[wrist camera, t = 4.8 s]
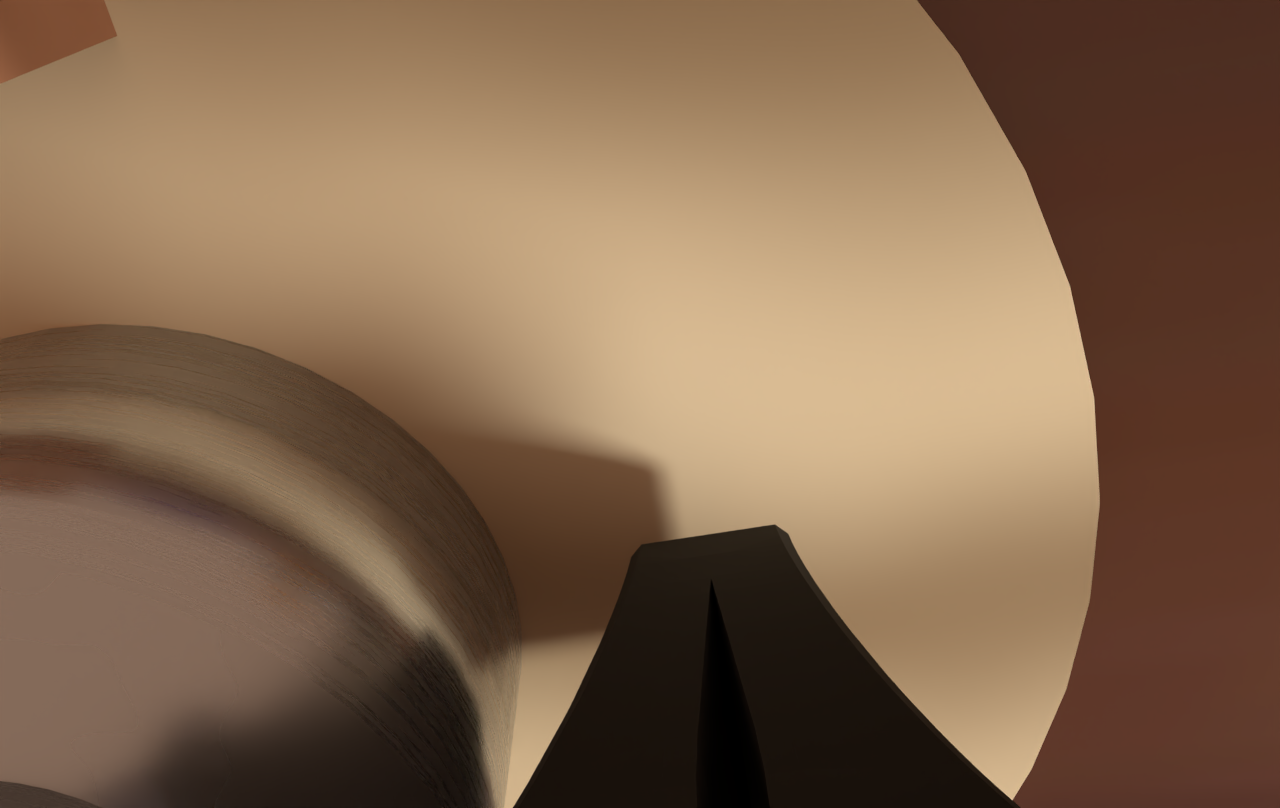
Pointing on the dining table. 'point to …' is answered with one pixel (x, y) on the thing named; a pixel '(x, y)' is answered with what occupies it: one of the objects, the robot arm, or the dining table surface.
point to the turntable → (610, 293)
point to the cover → (237, 588)
